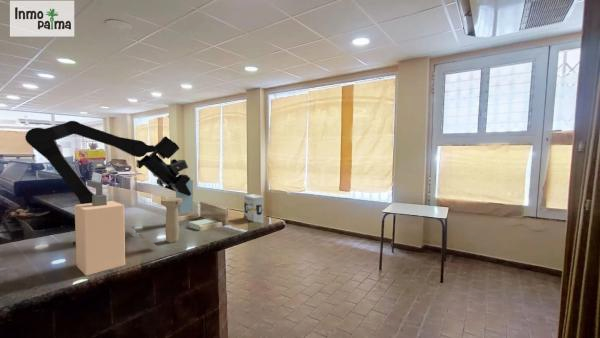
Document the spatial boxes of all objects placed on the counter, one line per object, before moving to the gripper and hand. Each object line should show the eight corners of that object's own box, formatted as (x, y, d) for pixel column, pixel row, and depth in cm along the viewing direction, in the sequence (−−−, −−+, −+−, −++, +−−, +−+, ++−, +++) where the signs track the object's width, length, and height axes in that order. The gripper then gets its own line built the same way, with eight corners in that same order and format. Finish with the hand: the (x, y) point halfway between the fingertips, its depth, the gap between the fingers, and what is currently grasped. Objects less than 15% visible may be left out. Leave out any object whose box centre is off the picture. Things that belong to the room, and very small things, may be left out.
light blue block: (180, 212, 108) (180, 180, 107) (176, 211, 110) (175, 179, 110) (192, 211, 111) (192, 180, 110) (188, 209, 114) (188, 179, 113)
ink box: (243, 221, 122) (243, 194, 121) (252, 219, 125) (252, 193, 124) (253, 225, 115) (254, 197, 115) (263, 223, 119) (263, 196, 118)
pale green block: (198, 230, 102) (198, 225, 102) (189, 227, 105) (189, 222, 105) (216, 225, 108) (216, 220, 108) (207, 223, 112) (207, 218, 112)
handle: (158, 246, 88) (158, 200, 87) (177, 241, 93) (176, 197, 92) (167, 249, 85) (166, 201, 84) (185, 244, 91) (185, 199, 90)
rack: (200, 234, 101) (200, 213, 101) (176, 223, 115) (176, 204, 115) (228, 228, 110) (228, 208, 109) (202, 219, 124) (202, 201, 123)
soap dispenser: (125, 265, 74) (123, 183, 72) (85, 275, 67) (83, 185, 66) (109, 253, 82) (107, 179, 80) (72, 261, 75) (69, 181, 74)
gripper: (184, 153, 100) (212, 181, 109) (164, 152, 113) (190, 177, 122) (162, 175, 95) (193, 203, 103) (143, 172, 108) (172, 197, 116)
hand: (187, 194), depth 111 cm, fingers closed on light blue block, 4 cm apart
